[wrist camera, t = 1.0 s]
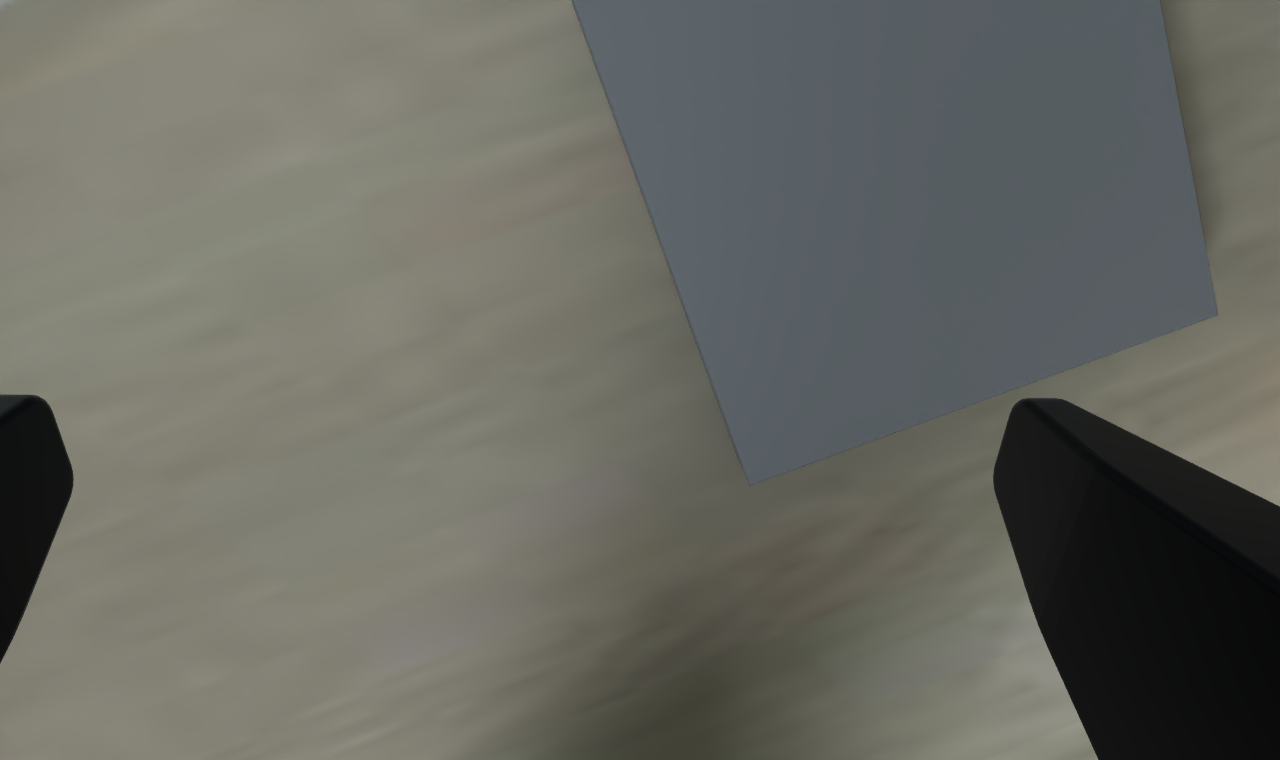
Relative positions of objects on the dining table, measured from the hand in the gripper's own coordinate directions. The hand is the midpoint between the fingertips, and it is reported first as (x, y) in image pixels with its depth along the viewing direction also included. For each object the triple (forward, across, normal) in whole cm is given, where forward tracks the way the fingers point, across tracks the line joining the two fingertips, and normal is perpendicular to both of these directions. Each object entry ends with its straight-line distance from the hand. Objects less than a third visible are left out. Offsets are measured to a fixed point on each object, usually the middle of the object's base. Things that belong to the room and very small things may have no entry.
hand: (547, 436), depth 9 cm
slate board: (+14, -8, +2) cm, 16 cm away
